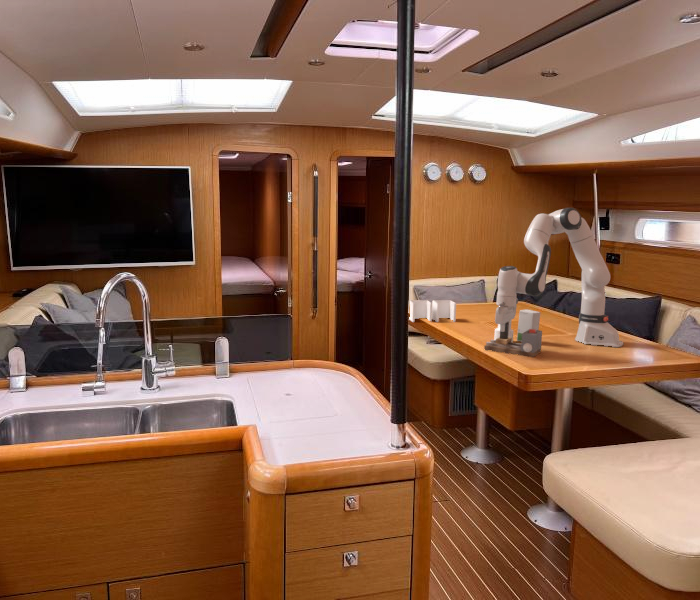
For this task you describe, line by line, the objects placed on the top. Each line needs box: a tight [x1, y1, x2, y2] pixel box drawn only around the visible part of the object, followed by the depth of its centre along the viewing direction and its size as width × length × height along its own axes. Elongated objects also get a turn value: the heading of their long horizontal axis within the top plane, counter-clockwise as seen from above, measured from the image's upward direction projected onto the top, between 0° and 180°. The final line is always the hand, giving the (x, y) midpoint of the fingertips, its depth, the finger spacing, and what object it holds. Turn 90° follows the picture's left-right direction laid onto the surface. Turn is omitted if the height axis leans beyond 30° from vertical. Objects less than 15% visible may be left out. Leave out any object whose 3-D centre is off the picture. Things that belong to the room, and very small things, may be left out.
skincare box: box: [516, 308, 541, 342], centre depth 309 cm, size 8×7×16 cm
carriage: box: [496, 323, 512, 345], centre depth 291 cm, size 5×8×9 cm, turn 149°
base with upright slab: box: [493, 319, 514, 343], centre depth 308 cm, size 9×9×12 cm
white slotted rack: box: [408, 299, 457, 323], centre depth 360 cm, size 25×11×11 cm, turn 98°
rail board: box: [483, 339, 542, 358], centre depth 290 cm, size 23×12×3 cm, turn 59°
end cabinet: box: [520, 330, 543, 357], centre depth 285 cm, size 6×12×10 cm, turn 149°
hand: (504, 330), depth 291 cm, fingers closed on carriage, 3 cm apart
